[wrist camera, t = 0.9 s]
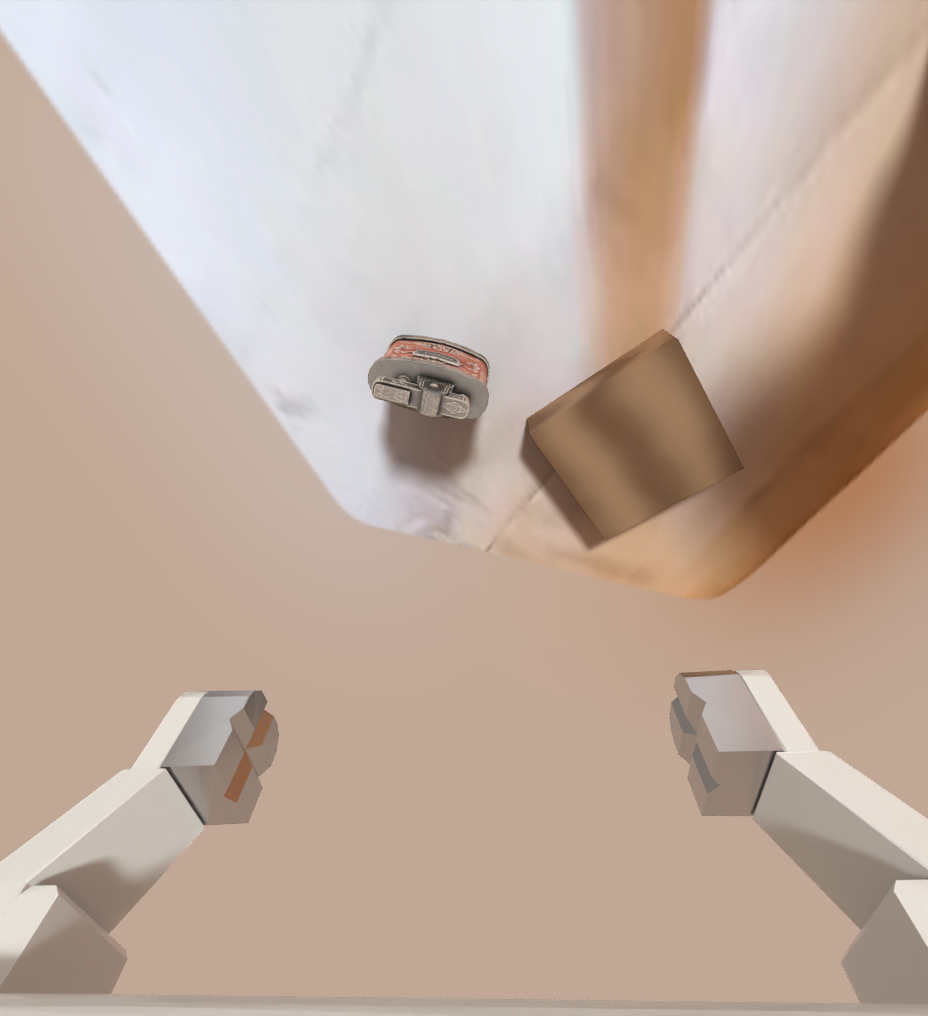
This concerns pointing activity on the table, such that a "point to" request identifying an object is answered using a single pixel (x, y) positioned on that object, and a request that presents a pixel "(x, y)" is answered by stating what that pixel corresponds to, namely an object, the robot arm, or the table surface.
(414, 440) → the table surface
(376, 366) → the lighter
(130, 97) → the table surface
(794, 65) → the table surface
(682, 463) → the walnut base
